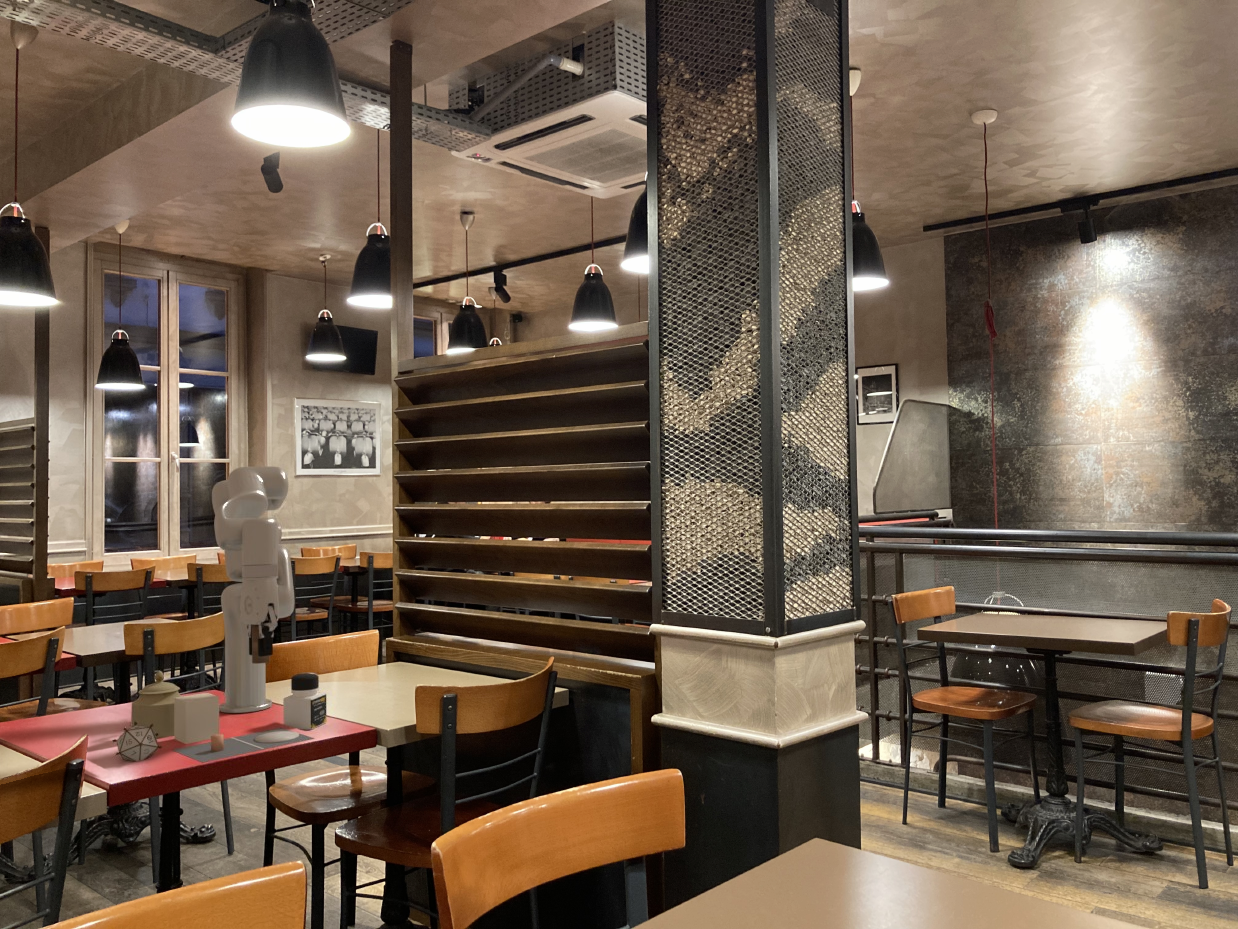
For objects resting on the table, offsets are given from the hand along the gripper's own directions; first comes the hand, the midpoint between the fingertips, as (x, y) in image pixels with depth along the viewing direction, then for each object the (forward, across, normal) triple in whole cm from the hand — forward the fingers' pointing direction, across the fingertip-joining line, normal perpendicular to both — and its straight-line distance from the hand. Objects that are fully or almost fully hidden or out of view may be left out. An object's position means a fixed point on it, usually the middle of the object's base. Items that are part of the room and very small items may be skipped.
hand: (260, 654), depth 212 cm
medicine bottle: (+18, -1, +11) cm, 21 cm away
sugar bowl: (+18, -18, -16) cm, 30 cm away
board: (+18, +8, -8) cm, 22 cm away
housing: (+13, -8, -12) cm, 19 cm away
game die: (+19, +2, -27) cm, 33 cm away
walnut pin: (+2, 0, 0) cm, 2 cm away
